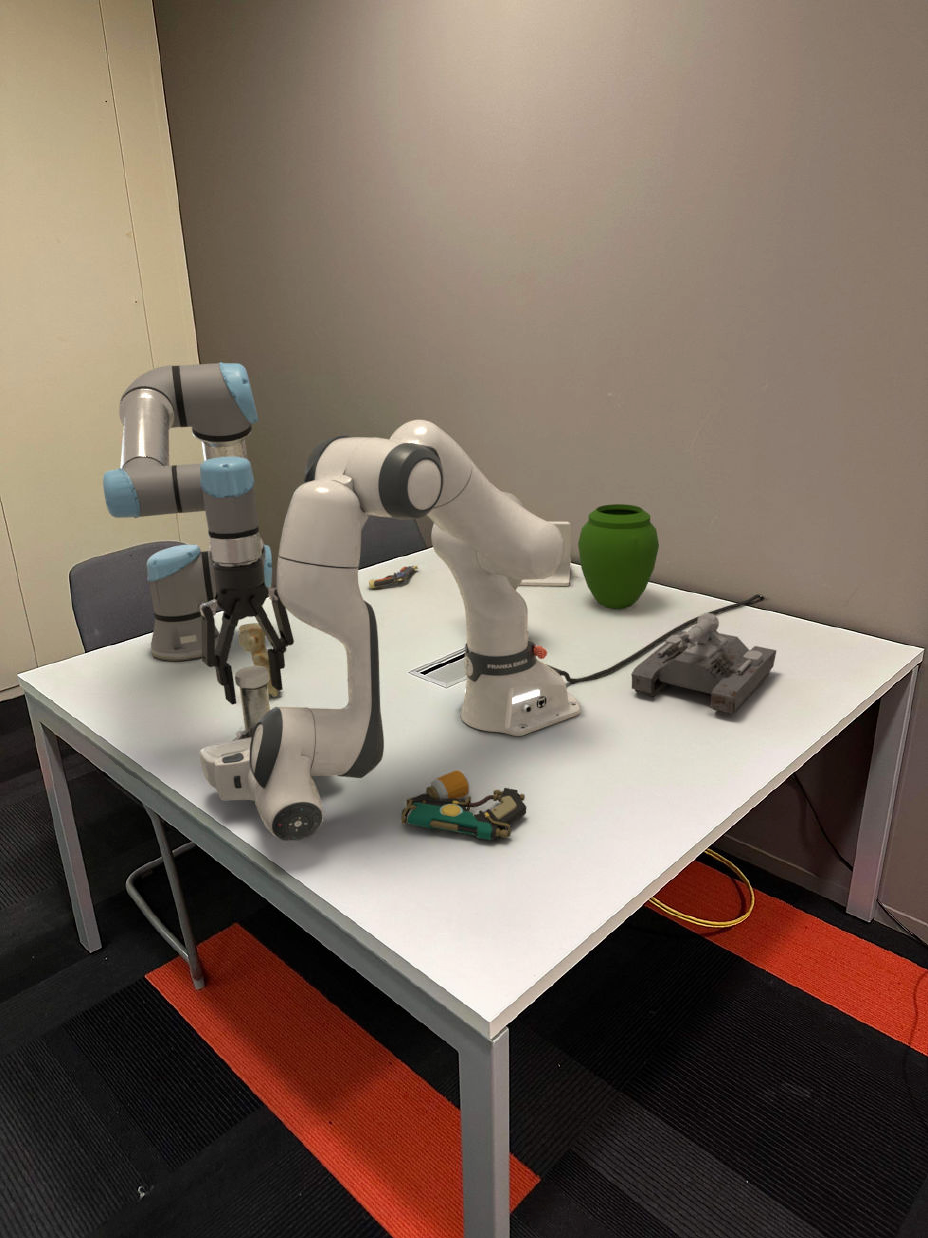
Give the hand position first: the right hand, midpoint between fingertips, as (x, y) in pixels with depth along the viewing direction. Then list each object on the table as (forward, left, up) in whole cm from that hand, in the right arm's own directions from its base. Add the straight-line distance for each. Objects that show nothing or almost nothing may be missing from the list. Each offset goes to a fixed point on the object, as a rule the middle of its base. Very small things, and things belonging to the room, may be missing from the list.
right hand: (258, 731), depth 143 cm
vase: (-96, -40, -6) cm, 104 cm away
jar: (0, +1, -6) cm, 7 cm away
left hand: (0, +1, +7) cm, 7 cm away
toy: (-86, +7, -6) cm, 87 cm away
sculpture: (-5, -27, -6) cm, 29 cm away
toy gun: (-53, -86, -6) cm, 101 cm away
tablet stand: (-87, -73, -6) cm, 113 cm away
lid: (0, +1, +11) cm, 11 cm away
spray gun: (-25, +30, -6) cm, 39 cm away
